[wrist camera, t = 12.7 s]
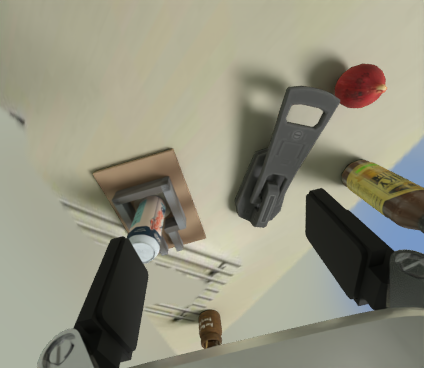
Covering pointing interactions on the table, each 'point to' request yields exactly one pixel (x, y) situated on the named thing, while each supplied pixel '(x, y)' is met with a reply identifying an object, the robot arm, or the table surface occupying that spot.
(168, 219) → the keyhole board
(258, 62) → the table surface
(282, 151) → the zipper pull
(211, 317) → the utensil holder
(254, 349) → the robot arm
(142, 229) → the beer can
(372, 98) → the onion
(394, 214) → the sauce bottle
